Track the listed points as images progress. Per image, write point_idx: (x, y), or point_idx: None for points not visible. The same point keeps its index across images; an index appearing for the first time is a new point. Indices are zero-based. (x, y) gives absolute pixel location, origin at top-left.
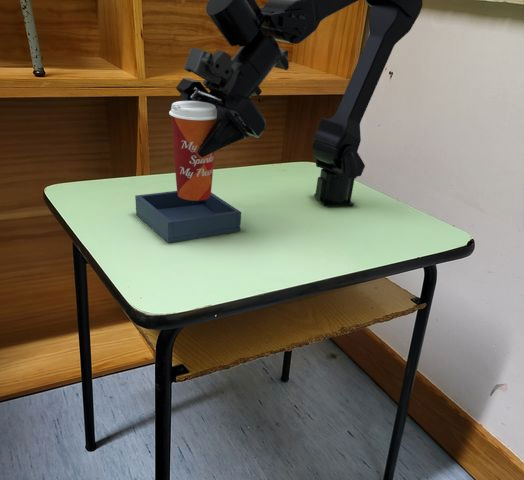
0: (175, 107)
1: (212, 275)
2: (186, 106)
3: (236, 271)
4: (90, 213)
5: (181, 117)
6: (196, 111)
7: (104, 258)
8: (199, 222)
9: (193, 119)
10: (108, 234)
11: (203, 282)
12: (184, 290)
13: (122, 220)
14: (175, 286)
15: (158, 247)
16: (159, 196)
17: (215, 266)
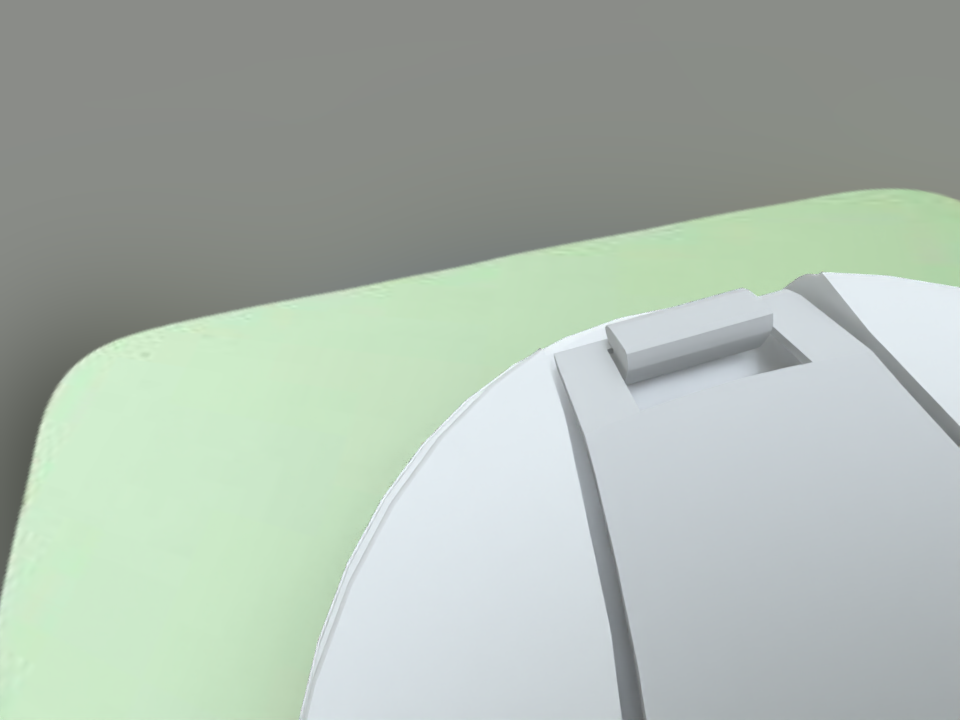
0: (670, 311)
1: (165, 567)
2: (734, 544)
3: (152, 667)
4: (708, 283)
5: (456, 418)
6: (307, 714)
7: (375, 298)
8: None
9: (334, 604)
10: (532, 318)
11: (139, 525)
12: (125, 460)
13: None
14: (156, 441)
15: (409, 442)
16: None
17: (216, 598)
